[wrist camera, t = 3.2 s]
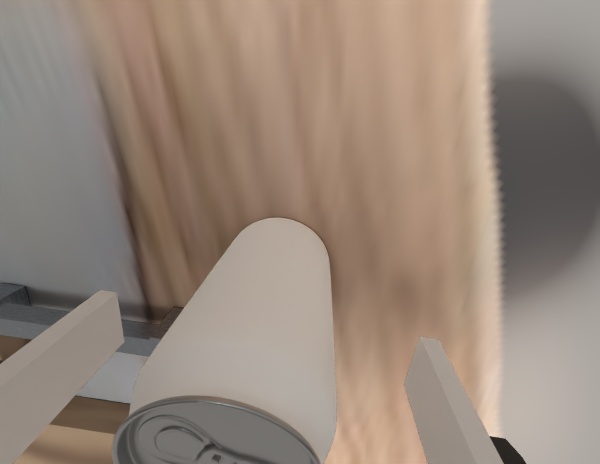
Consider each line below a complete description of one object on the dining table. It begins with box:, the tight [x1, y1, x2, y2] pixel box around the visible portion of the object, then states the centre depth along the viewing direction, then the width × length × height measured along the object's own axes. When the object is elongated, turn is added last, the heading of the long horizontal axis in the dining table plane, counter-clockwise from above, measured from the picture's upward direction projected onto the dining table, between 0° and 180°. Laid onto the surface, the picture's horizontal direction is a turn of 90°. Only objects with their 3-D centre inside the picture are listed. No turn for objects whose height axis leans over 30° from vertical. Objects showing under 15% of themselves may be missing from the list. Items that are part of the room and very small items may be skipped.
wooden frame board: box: [0, 335, 130, 464], centre depth 23 cm, size 18×24×2 cm
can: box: [112, 218, 337, 464], centre depth 13 cm, size 6×6×12 cm
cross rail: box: [0, 283, 184, 356], centre depth 19 cm, size 2×15×3 cm, turn 83°
